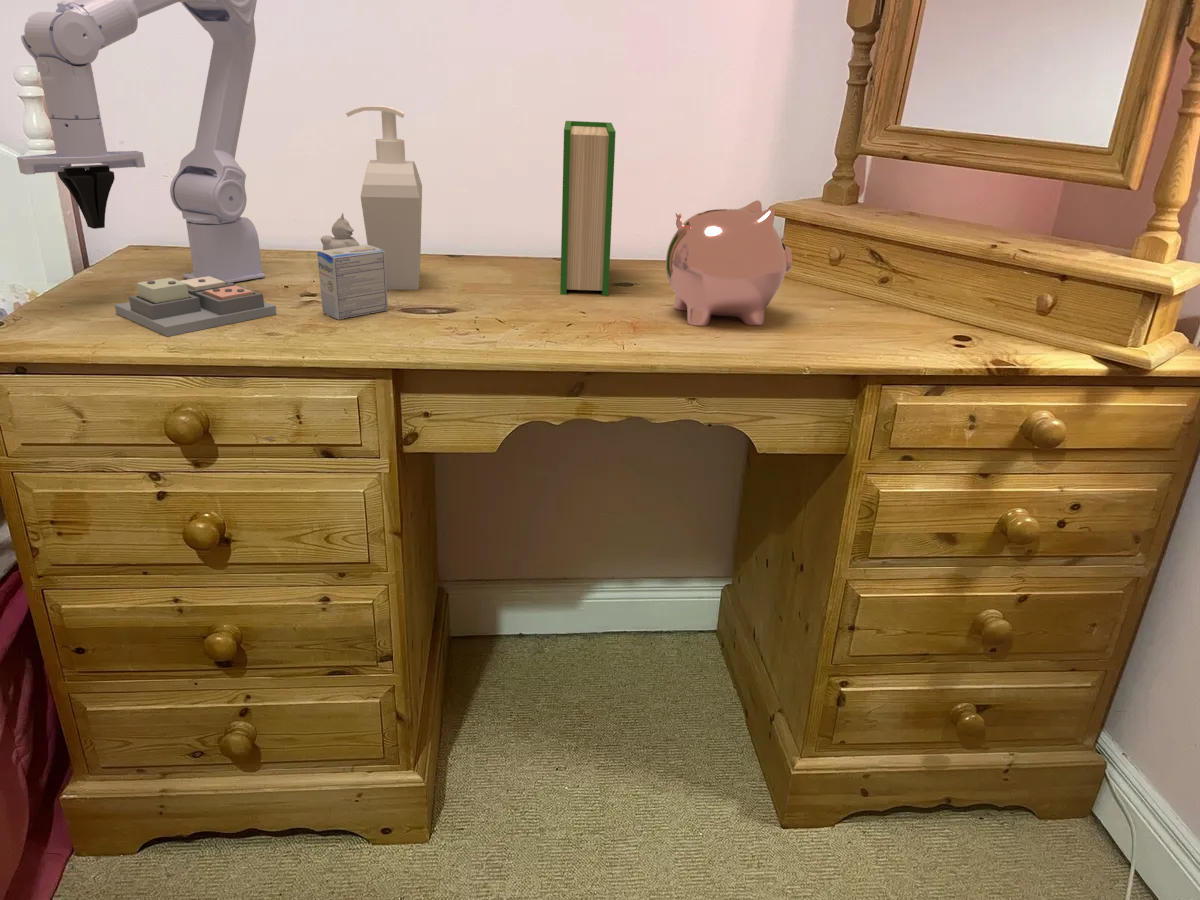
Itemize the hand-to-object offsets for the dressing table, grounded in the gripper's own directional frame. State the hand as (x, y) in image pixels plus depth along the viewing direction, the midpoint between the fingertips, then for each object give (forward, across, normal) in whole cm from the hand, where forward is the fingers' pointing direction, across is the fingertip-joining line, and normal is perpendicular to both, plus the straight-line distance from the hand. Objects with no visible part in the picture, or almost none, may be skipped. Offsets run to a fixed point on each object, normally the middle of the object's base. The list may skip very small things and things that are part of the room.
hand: (96, 227), depth 117 cm
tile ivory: (+9, -9, +8) cm, 15 cm away
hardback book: (+11, -60, +34) cm, 70 cm away
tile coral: (+9, -9, +15) cm, 20 cm away
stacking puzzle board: (+10, -6, +12) cm, 17 cm away
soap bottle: (+11, -36, +15) cm, 40 cm away
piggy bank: (+11, -60, +61) cm, 86 cm away
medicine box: (+11, -22, +25) cm, 35 cm away
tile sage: (+7, -2, +12) cm, 14 cm away
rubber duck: (+11, -40, -4) cm, 42 cm away
